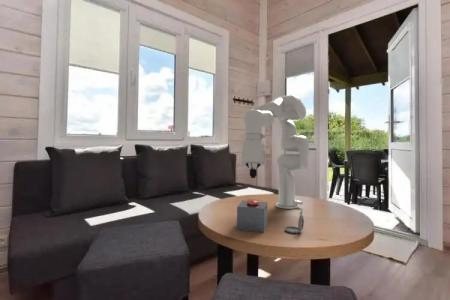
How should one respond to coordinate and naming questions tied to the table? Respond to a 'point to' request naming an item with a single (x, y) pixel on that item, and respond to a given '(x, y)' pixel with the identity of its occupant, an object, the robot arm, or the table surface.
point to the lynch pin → (253, 202)
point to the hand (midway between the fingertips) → (253, 177)
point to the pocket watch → (300, 225)
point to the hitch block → (252, 217)
